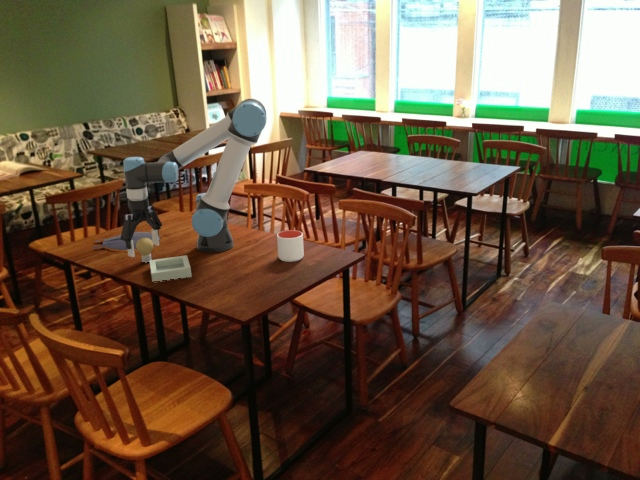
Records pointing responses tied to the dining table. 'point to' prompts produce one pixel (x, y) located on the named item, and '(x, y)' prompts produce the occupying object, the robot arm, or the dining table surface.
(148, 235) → the toy spaceship
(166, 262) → the tray
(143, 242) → the light bulb
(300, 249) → the cup
